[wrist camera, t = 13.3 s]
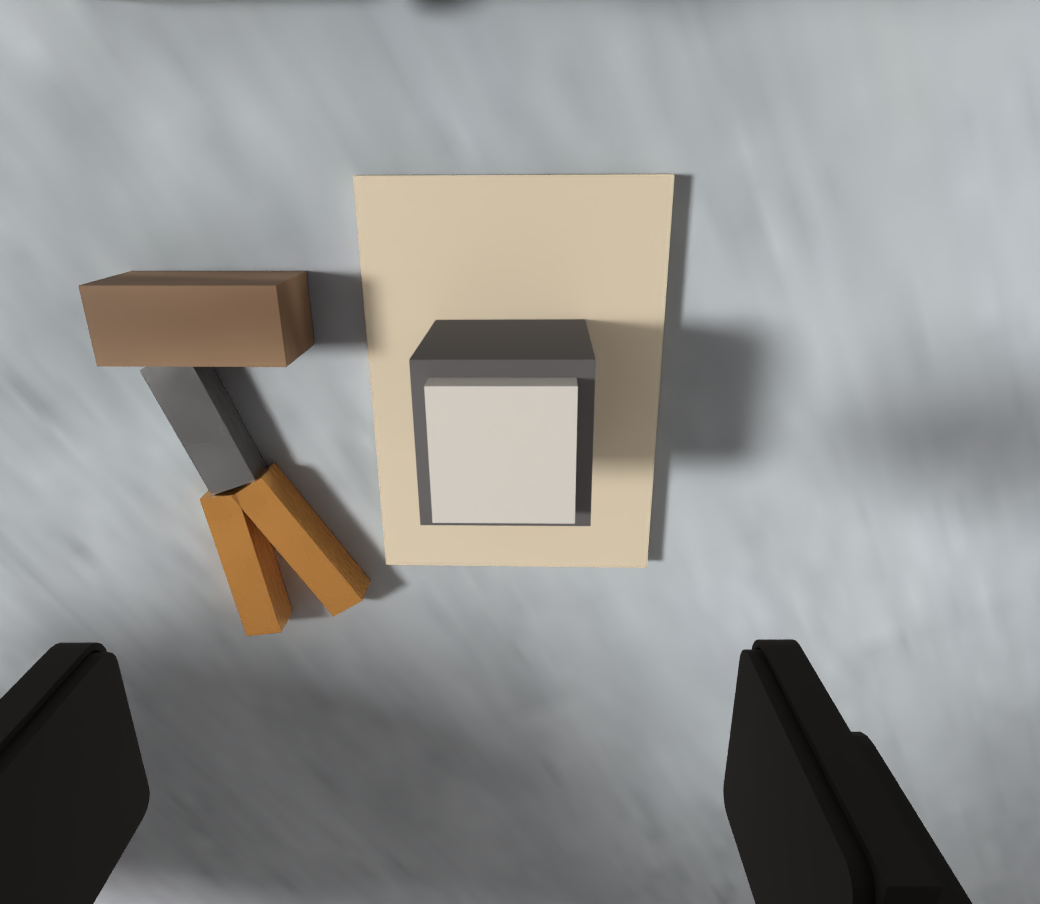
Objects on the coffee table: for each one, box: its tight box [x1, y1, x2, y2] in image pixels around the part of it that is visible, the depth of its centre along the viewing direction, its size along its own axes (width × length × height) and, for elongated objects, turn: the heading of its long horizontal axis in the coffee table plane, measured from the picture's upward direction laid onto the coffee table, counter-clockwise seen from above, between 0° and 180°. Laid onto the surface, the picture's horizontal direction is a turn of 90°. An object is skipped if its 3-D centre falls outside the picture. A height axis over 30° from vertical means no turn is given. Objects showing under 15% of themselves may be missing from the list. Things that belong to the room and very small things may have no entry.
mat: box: [353, 174, 675, 568], centre depth 25 cm, size 14×10×1 cm
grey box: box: [409, 319, 596, 526], centre depth 22 cm, size 5×5×6 cm
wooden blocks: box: [79, 271, 315, 367], centre depth 22 cm, size 13×6×3 cm, turn 0°
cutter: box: [140, 366, 370, 636], centre depth 27 cm, size 11×5×1 cm, turn 20°
